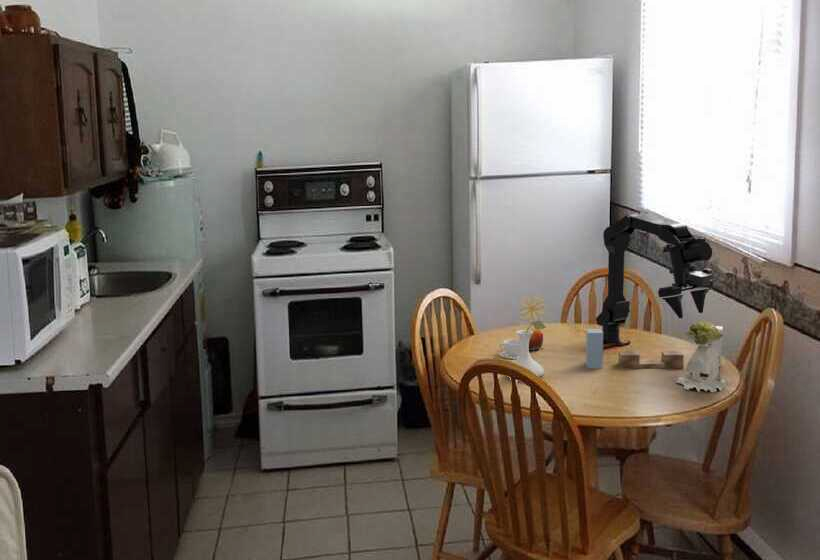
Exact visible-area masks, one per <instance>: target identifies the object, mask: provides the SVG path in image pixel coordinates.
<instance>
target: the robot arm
mask: <svg viewBox="0 0 820 560" xmlns="http://www.w3.org/2000/svg"><path fill="white" fill-rule="evenodd" d="M636 231H642V232H645V233H647V234H651V235H655V236H657V237H658V239H659V240H660V241H662V242H664V243H666V245H665V247H664V249H663V250H662V253H664V254H665V253H668V256H669V261H670V267H671V269H669V271H668V272H669V274H672V277H673V283H671V285H668V286H663V287H660V288H658V290H657V293H658V298H661V299H662V300H664V301H665V303H667V305H668V306H669V307H670V308H671V309H672V311H673V312H674V313H675V315H676V316H677V317H678V319H683V317H684V314H683V307H682V299H683V297H684V294H682V292H684V291H689V292H690V294H691V297H692V300H693V302H694V305H695V307H696V309H697V311H698V313H699V314H703V313H704V308H705V307H704V306H705V299H706V295H707V293H709V291H711V289H712V287H714V281H713V280H714V273H713V270H712V269H710V268H704V269H703V271H702V270H701V271H697V268H696V266H695V265H693V266H692V264H695V263H700V262H705V261H706V262H707V261H710V260H711V258H712V257H713V249H712V247H711V245H710V244H709V243H708V242H707V241H706V238H705V237H701V238H696V236H694V234H693V233H692V232H691V231H690V230H689V228H688V225H687V224H685V223H681V222H662V221H660V220H655V219H654V218H653V219H652V218H649V217H646V216H642V215H639V214H638V213H633V214H631V213H630V214H626V215H624V216H623V217H622V218H620V219H619V220H618V221H616V222H614V223H612V224H611V225H609V226H607V227H606V228H605V229H604V230H603V234H602V235H603V244H604V247H605V248H606V250H607V253H608V276H607V277H608V279H607V281H608V282H607V296H606V297H605V299H604V301H603V303H602V311H601V312H600V313H599V314H598V316H596V318H595V321H596V325H597V326H601V330H602V332H603V345H621V344H623V343H622V341H621V339H620V328H621V327H620V325H623V324H625V323H626V321H627V318H628V316H629V314H630V313H631V311H630V303H631V302H630V300H627V299H626V297H625V296H624V284H625V283H624V275H625V272H624V271H625V253H626V250H627V248H628V247H629V244H630V237H631V236H632V235H634V234H635V233H636ZM690 290H691V291H690Z"/></svg>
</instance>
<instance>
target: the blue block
mask: <svg viewBox="0 0 820 560" xmlns="http://www.w3.org/2000/svg"><path fill="white" fill-rule="evenodd" d="M585 332H586V333H585V365H586V368H587V367H588V368H587V369H603V365H604V364H603V363H604V359H603V357H604V344H603V332H602V328H585Z"/></svg>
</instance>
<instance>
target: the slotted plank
mask: <svg viewBox="0 0 820 560" xmlns="http://www.w3.org/2000/svg"><path fill="white" fill-rule="evenodd" d="M640 356H641V355H640V354H639V352H638V350H618V363H617V364H618V365H619V367H620V369H628V368H629V369H650V368H651V369H657V368H658V369H661V368H662V369H663V368H664V369H668V368H669V369H670V368H671V369H679V368H680V369H683V368H684V357H685V355H684V354H683V352H682V351H681V350H661V358H659V359H652V358H651V359H650V358H649V359H646V358H645V359H640V358H641V357H640Z"/></svg>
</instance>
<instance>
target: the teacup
mask: <svg viewBox="0 0 820 560" xmlns="http://www.w3.org/2000/svg"><path fill="white" fill-rule="evenodd" d="M502 346H503V347H502ZM499 348H500V350H501V351H500V352H499V354H498V355H499V356H500V357H502V358H505V359H512V360H513V359H514V360H516V359H518V358H519V357H517V356H520V354H521V342H520V339H519V338H509V339H505V340H503V342H500V343H499ZM505 354H508V355H509V356H508V355H505ZM529 355H530V356H531V353H530V352H529ZM511 356H512V357H511Z"/></svg>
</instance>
